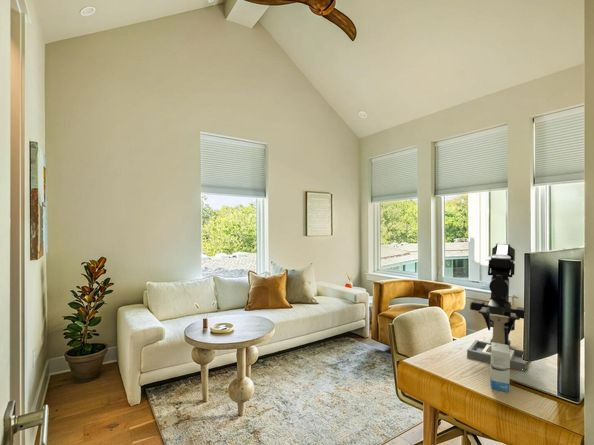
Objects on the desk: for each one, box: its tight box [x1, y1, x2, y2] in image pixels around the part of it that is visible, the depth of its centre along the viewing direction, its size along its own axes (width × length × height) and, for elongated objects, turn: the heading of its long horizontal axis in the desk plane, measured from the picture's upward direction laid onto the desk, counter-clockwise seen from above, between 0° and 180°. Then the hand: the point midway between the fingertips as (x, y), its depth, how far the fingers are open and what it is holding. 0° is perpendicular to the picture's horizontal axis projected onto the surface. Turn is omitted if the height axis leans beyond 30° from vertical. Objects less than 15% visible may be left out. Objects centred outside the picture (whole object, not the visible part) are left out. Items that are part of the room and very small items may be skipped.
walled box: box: [466, 339, 529, 371], centre depth 125 cm, size 14×18×2 cm
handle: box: [489, 314, 509, 344], centre depth 125 cm, size 5×6×15 cm
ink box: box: [489, 342, 511, 393], centre depth 104 cm, size 8×5×12 cm, turn 151°
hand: (498, 332), depth 125 cm, fingers open, 6 cm apart
